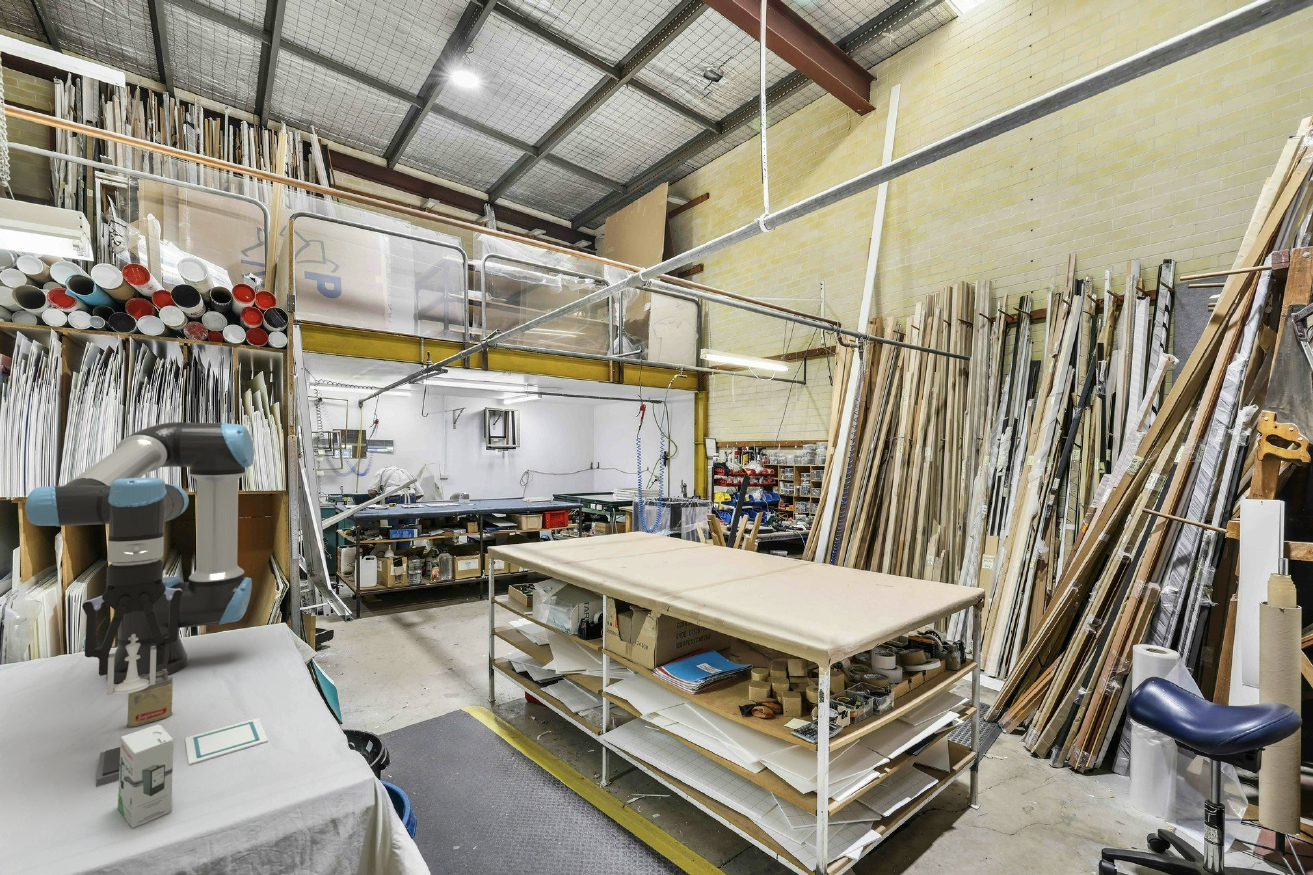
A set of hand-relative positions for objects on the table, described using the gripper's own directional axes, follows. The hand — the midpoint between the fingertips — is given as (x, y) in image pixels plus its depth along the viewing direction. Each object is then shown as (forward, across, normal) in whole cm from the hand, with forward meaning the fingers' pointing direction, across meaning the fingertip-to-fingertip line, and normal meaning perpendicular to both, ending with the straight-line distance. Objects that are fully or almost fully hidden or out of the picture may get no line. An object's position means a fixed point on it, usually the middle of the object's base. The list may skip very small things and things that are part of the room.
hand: (131, 686), depth 100 cm
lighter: (+14, +3, +19) cm, 24 cm away
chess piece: (+1, 0, 0) cm, 1 cm away
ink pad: (+14, 0, 0) cm, 14 cm away
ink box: (+14, +2, -19) cm, 24 cm away
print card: (+14, +14, -2) cm, 20 cm away
